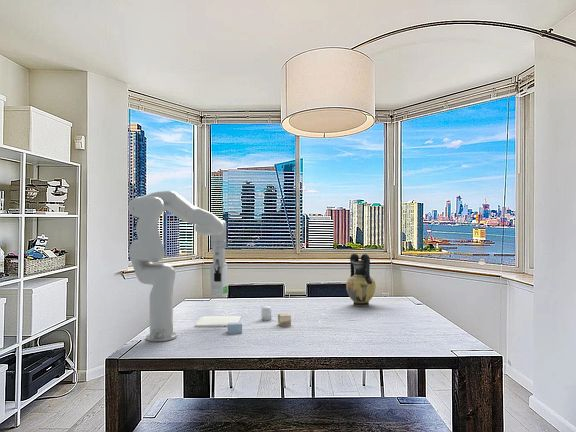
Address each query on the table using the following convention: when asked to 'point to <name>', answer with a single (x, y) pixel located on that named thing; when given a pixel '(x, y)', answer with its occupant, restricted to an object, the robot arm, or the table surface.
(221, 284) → the skincare box
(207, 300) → the table surface
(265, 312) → the white rounded piece
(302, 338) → the table surface
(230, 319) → the cream mat
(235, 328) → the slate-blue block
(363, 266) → the amphora
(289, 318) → the birch block
